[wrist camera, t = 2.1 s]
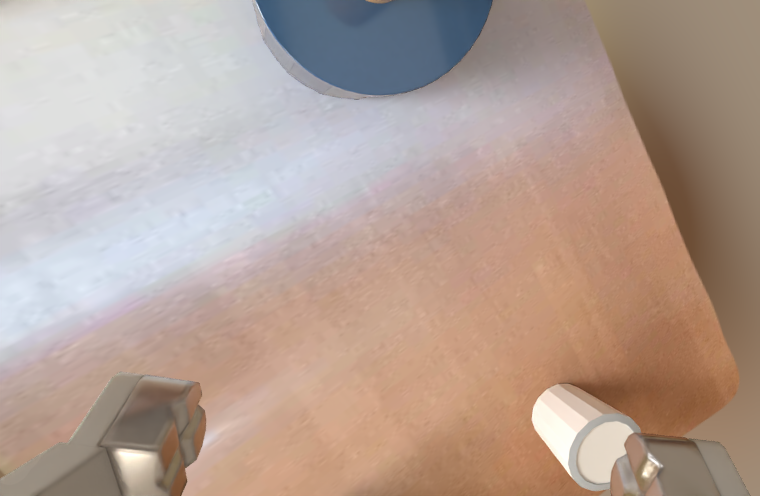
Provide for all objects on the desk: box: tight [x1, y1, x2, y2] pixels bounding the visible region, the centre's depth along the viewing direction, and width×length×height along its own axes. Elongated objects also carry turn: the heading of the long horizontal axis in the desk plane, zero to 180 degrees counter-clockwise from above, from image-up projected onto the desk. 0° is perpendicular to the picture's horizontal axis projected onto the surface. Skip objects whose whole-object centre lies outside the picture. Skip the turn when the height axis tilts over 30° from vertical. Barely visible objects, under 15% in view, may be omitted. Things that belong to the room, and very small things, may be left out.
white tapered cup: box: [532, 383, 641, 491], centre depth 47 cm, size 7×7×7 cm
